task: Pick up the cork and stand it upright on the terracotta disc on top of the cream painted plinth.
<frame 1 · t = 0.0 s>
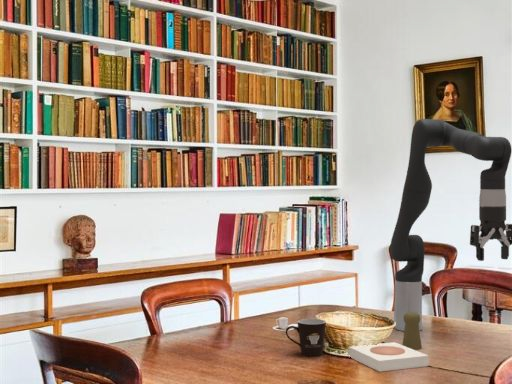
hand: (492, 259, 215), 29 cm above the table, fingers open, 8 cm apart
teacup and saucer: (287, 331, 258), on the table
plinth: (387, 361, 213), on the table
coffee mug: (307, 354, 223), on the table
cork: (411, 348, 230), on the table
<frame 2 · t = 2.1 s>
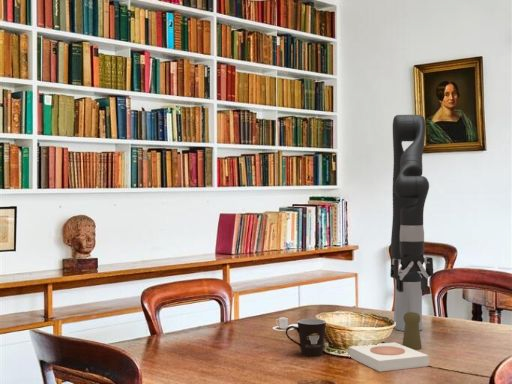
hand: (412, 291, 230), 18 cm above the table, fingers open, 8 cm apart
nothing on the table moved.
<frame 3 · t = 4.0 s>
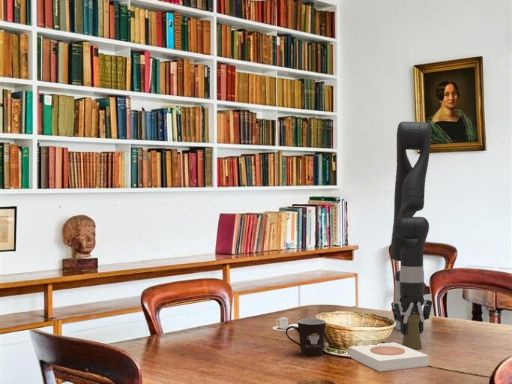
hand: (411, 333, 230), 4 cm above the table, fingers closed on cork, 5 cm apart
cork: (411, 348, 230), on the table, touching gripper
everything else where it was.
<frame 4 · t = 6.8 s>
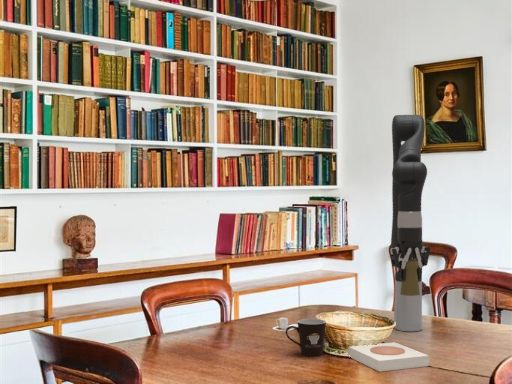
hand: (409, 280, 228), 22 cm above the table, fingers closed on cork, 5 cm apart
cork: (410, 294, 228), point 17 cm above the table, touching gripper
everything else where it was.
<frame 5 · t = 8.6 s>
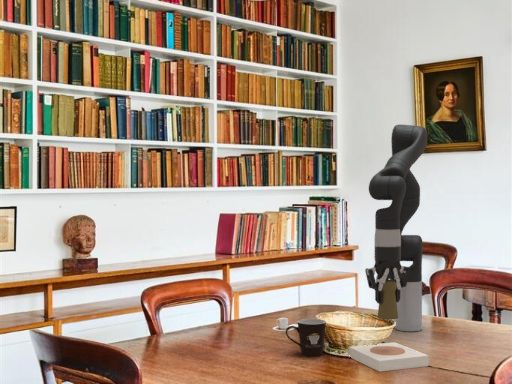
hand: (387, 302, 213), 17 cm above the table, fingers closed on cork, 5 cm apart
cork: (387, 318, 213), point 13 cm above the table, touching gripper
everything else where it was.
when the fingers open (8 cm above the table, at t = 10.1 s): cork stays where it is, resting on plinth.
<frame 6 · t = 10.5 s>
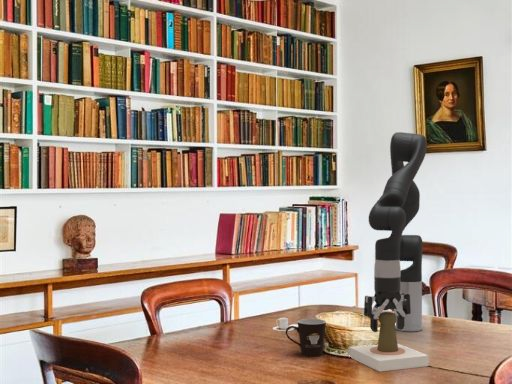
hand: (387, 330, 213), 9 cm above the table, fingers open, 8 cm apart
cork: (387, 350, 213), point 3 cm above the table, touching plinth
everything else where it was.
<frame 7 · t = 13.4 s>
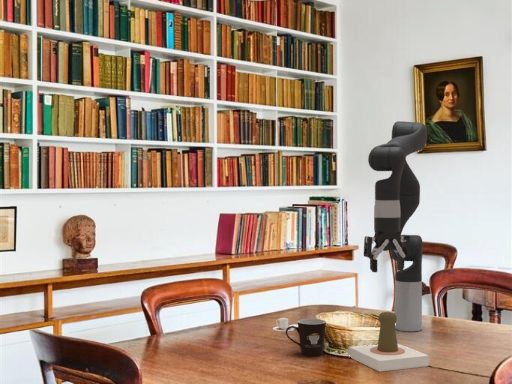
hand: (387, 271, 213), 26 cm above the table, fingers open, 8 cm apart
nothing on the table moved.
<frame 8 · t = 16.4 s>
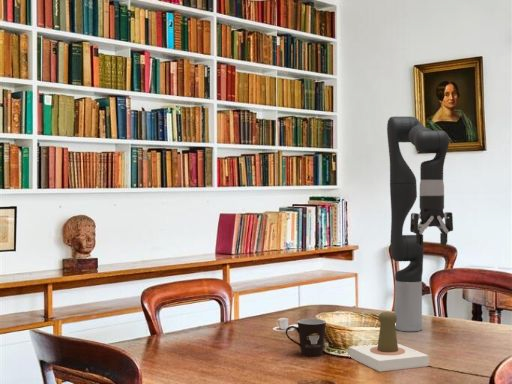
hand: (431, 245, 230), 32 cm above the table, fingers open, 8 cm apart
at the end: cork inside the target area on the plinth (0.1 cm from its centre), point 3.1 cm above the plinth's base; cork tilted 0°; the gripper is holding nothing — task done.
